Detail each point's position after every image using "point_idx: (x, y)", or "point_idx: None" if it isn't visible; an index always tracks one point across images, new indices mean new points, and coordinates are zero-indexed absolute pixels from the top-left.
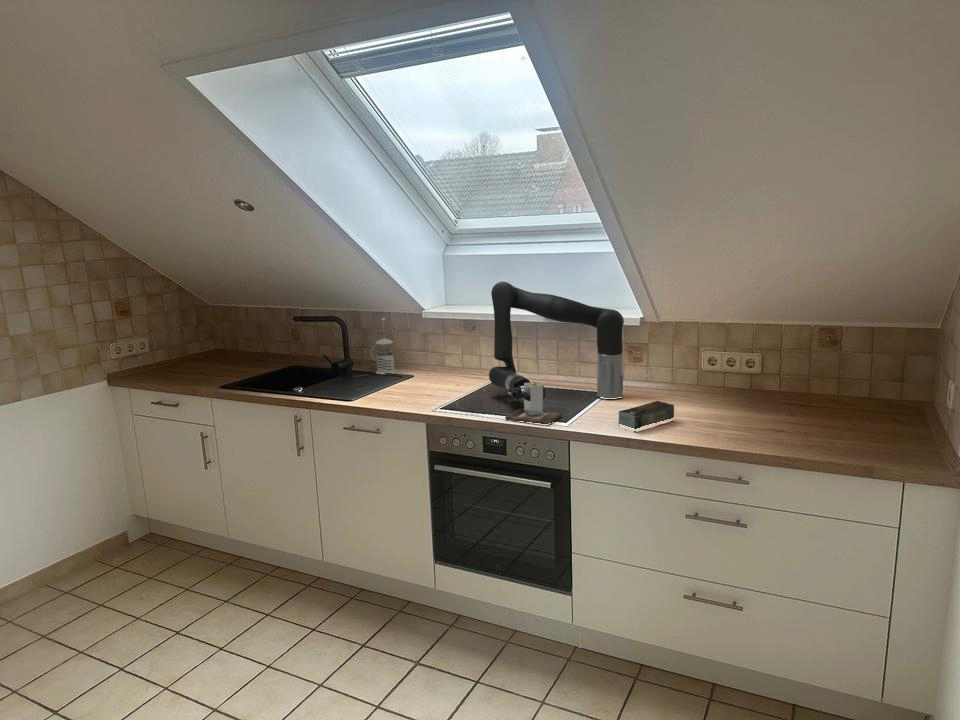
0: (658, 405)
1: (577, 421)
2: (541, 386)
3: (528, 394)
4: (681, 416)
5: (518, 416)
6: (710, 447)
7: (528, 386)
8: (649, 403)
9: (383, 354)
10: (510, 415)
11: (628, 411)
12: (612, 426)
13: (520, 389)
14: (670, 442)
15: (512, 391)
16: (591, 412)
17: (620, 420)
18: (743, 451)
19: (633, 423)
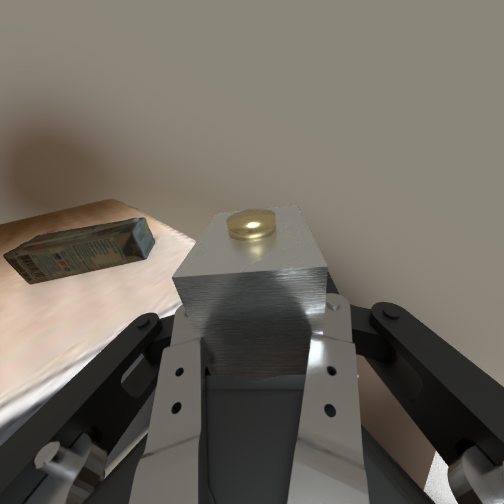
0: (58, 234)
1: (168, 302)
2: (225, 215)
3: None
4: (7, 278)
5: (357, 374)
6: (147, 216)
7: (302, 219)
8: (38, 247)
9: None
10: (416, 425)
11: (125, 227)
12: (147, 264)
13: (365, 436)
14: (160, 223)
15: (485, 381)
16: (38, 368)
17: (141, 244)
18: (140, 211)
19: (149, 230)
